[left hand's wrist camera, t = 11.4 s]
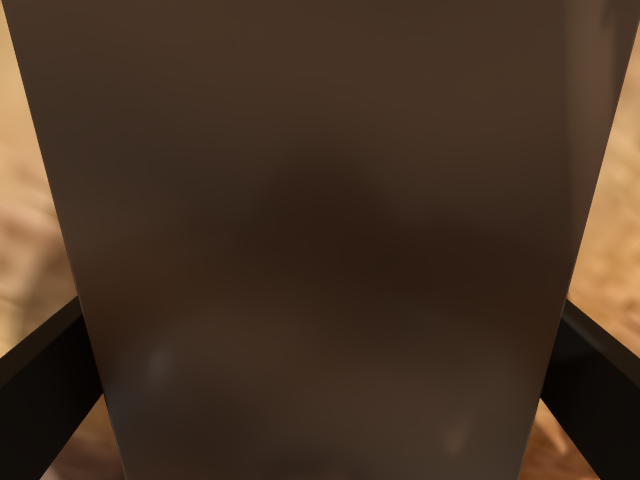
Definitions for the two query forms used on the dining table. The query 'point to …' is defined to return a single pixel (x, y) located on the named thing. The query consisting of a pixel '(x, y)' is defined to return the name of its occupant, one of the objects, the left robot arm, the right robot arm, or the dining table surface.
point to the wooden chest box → (322, 220)
